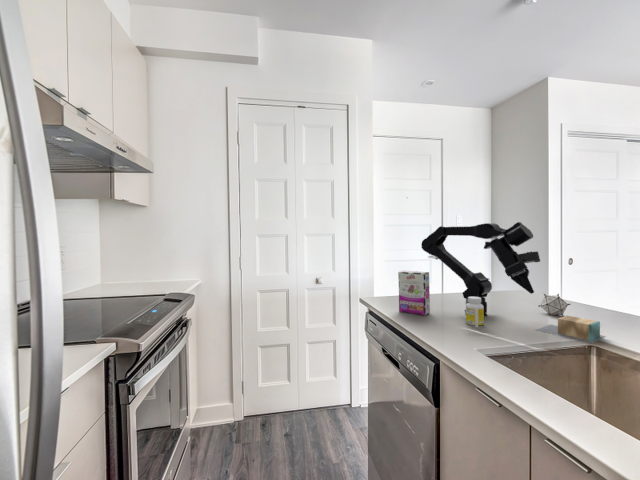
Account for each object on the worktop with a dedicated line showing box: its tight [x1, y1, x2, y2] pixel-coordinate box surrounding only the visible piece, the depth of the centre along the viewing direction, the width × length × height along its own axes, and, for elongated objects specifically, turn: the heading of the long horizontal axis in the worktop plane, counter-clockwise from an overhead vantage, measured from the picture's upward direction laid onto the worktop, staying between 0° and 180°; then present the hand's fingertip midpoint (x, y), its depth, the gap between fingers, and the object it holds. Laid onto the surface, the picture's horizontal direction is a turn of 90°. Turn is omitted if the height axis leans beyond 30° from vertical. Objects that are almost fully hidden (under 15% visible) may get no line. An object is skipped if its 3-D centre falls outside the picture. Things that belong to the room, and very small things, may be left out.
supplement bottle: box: [465, 297, 485, 328], centre depth 103 cm, size 5×5×10 cm
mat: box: [535, 324, 606, 344], centre depth 93 cm, size 14×10×1 cm
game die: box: [538, 293, 572, 317], centre depth 113 cm, size 9×8×10 cm
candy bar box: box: [397, 270, 431, 316], centre depth 122 cm, size 11×5×16 cm, turn 49°
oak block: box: [557, 315, 601, 341], centre depth 91 cm, size 4×6×8 cm
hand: (532, 293), depth 103 cm, fingers closed
